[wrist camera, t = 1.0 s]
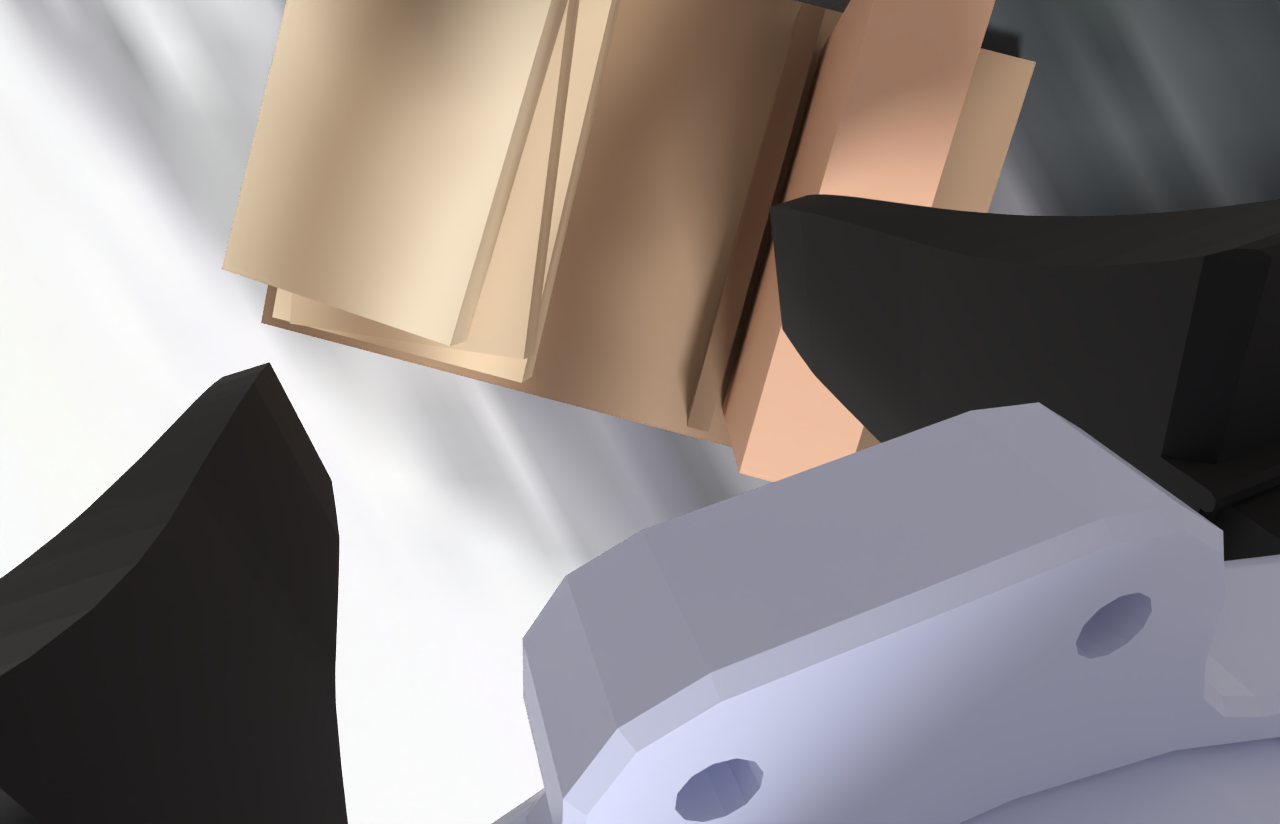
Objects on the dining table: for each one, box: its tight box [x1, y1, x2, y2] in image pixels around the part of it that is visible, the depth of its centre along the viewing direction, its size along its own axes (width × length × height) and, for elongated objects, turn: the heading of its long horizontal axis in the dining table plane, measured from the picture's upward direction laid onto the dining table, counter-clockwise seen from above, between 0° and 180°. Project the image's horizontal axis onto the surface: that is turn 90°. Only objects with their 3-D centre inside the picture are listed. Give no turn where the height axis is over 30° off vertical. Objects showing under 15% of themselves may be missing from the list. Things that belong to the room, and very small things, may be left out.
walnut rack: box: [261, 0, 1036, 452], centre depth 23 cm, size 19×12×2 cm, turn 76°
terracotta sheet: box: [722, 0, 995, 482], centre depth 19 cm, size 2×10×8 cm, turn 165°
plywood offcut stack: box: [222, 0, 621, 383], centre depth 21 cm, size 7×11×4 cm, turn 165°
